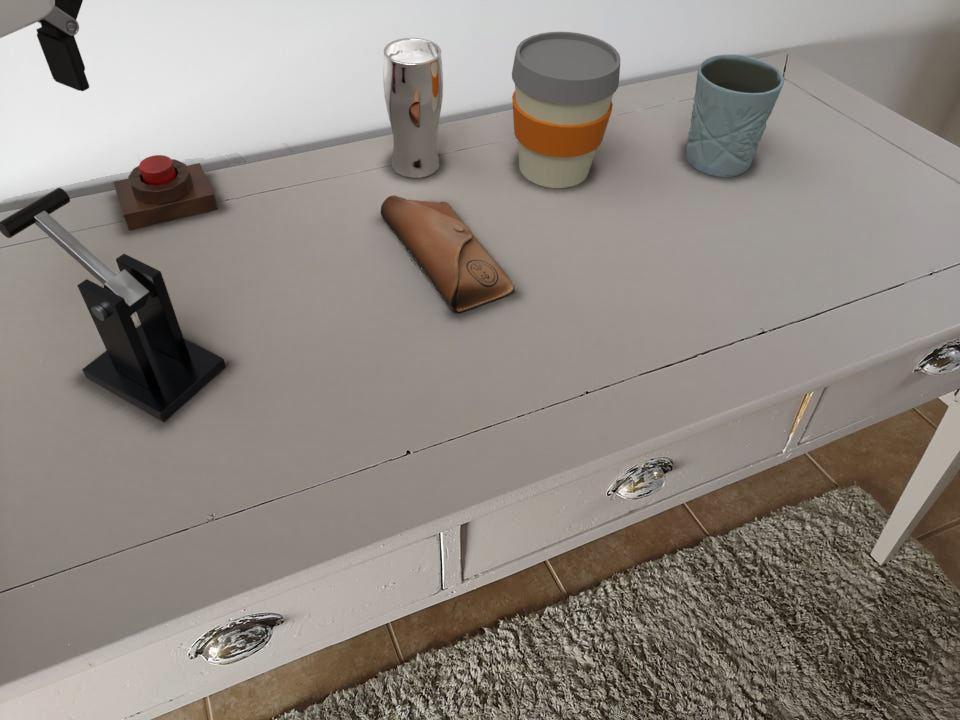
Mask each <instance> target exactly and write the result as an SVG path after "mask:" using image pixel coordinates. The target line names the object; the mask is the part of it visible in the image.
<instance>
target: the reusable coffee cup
mask: <svg viewBox="0 0 960 720" xmlns="http://www.w3.org/2000/svg"><path fill="white" fill-rule="evenodd" d="M514 53H515V54H514V58H513V65H512V71H511V79H512V81H513V84H514V88H515V89H514V91H513V93H512V97H511V100H512V101H511V102H512V119H513V120H512V121H513V133H514V137H515V138H516V140H517V147H518V165H519V167H518V169H519V172H520V173H521V174H522V175H523V177H524V178H525V179H526V180H528V181H529V182H531V183H533V184H535V185H538V186H541V187H545V188H548V189H549V188H550V189H566V188H571V187H574V186H575V187H576V186H577V185H579V184H581V183H583V182H584V181H585V180H586V179H587V178H588V175H589V173H590V170H591V167H592V163H593V160H594V157H595V154H596V150H597V149H598V148H599V146H601V144H602V142H603V140H604V136H605V133H606V130H607V127H608V124H609V120H610V116H611V114H612V111H613V106H614V105H613V96H614V94H615V93H616V92H617V91H618V88H619V84H620V73H621V56H620V53H619V52H618V51H617V49H616V48H615V47H614V46H612V44H610V43H608V42H606V41H605V40H603V39H600V38H597V37H595V36H592V35H589V34H584V33H580V32H573V31H548V32H542V33H541V32H540V33H538V34H533V35H531V36H529V37H527V38H525V39H523V40H522V41H520V42H519V44H518V45H517V46H516V49H515V52H514Z"/></svg>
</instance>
